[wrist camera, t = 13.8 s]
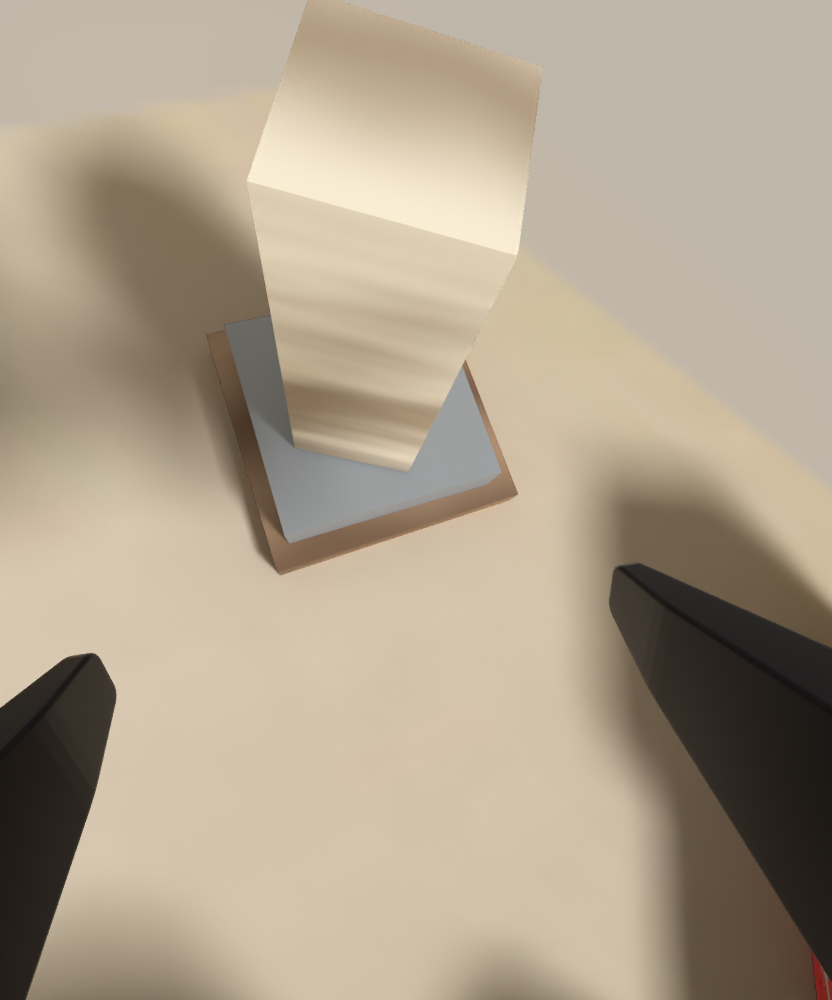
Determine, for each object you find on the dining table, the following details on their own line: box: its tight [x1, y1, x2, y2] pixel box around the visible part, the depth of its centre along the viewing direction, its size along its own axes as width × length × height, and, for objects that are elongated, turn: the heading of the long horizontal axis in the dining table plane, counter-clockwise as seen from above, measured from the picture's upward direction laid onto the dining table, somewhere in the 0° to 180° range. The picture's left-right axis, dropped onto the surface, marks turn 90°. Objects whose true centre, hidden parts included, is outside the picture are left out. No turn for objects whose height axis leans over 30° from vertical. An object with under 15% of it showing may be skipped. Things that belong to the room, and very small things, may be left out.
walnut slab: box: [206, 330, 518, 575], centre depth 23 cm, size 11×11×2 cm
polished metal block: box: [247, 0, 543, 472], centre depth 14 cm, size 4×4×12 cm
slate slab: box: [224, 315, 502, 543], centre depth 21 cm, size 9×9×2 cm
